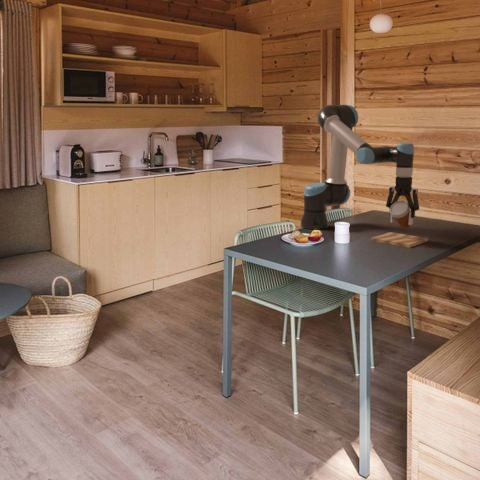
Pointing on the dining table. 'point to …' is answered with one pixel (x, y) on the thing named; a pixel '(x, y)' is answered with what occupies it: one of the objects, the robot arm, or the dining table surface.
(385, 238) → the oak board
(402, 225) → the disposable coffee cup
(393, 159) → the robot arm
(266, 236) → the dining table surface
